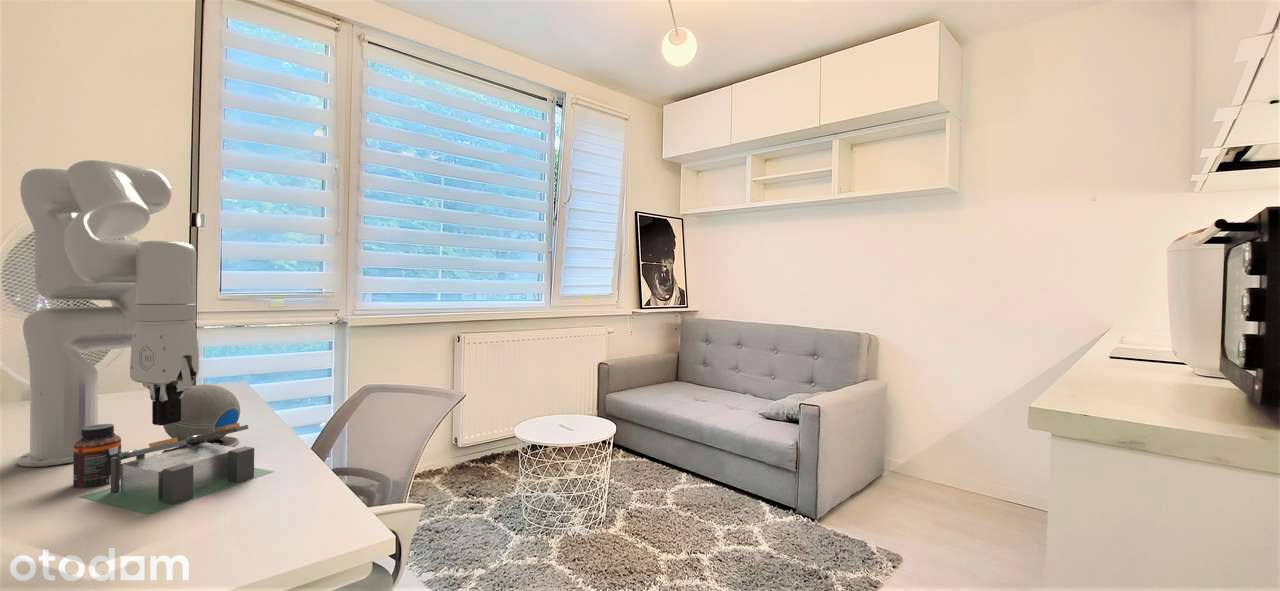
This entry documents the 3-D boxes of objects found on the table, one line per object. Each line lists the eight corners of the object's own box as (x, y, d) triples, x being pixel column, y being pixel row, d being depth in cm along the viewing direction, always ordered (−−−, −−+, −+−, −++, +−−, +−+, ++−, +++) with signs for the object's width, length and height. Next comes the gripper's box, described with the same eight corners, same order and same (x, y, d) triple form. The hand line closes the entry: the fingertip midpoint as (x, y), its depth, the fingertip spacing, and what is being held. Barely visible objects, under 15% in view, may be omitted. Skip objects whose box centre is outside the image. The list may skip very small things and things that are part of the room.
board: (78, 503, 86) (79, 461, 86) (211, 465, 105) (211, 430, 105) (147, 521, 80) (148, 476, 80) (274, 477, 99) (274, 440, 99)
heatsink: (120, 492, 88) (120, 463, 88) (205, 467, 100) (205, 442, 100) (158, 501, 85) (158, 471, 85) (240, 474, 97) (241, 448, 97)
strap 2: (184, 444, 98) (183, 435, 98) (198, 440, 100) (197, 432, 100) (236, 433, 94) (234, 423, 94) (249, 429, 96) (248, 420, 96)
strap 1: (117, 460, 88) (116, 451, 89) (135, 456, 91) (133, 446, 91) (171, 449, 84) (169, 439, 84) (188, 445, 86) (186, 435, 86)
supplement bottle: (127, 485, 94) (128, 424, 93) (81, 497, 88) (82, 432, 88) (112, 479, 96) (112, 420, 96) (67, 491, 91) (67, 428, 91)
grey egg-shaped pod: (200, 442, 119) (201, 378, 119) (254, 444, 118) (255, 380, 118) (145, 461, 106) (145, 390, 106) (204, 464, 106) (205, 392, 105)
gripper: (110, 314, 85) (110, 424, 85) (169, 317, 80) (169, 433, 80) (164, 312, 92) (164, 414, 92) (221, 315, 87) (221, 421, 87)
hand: (166, 422), depth 86 cm, fingers closed
